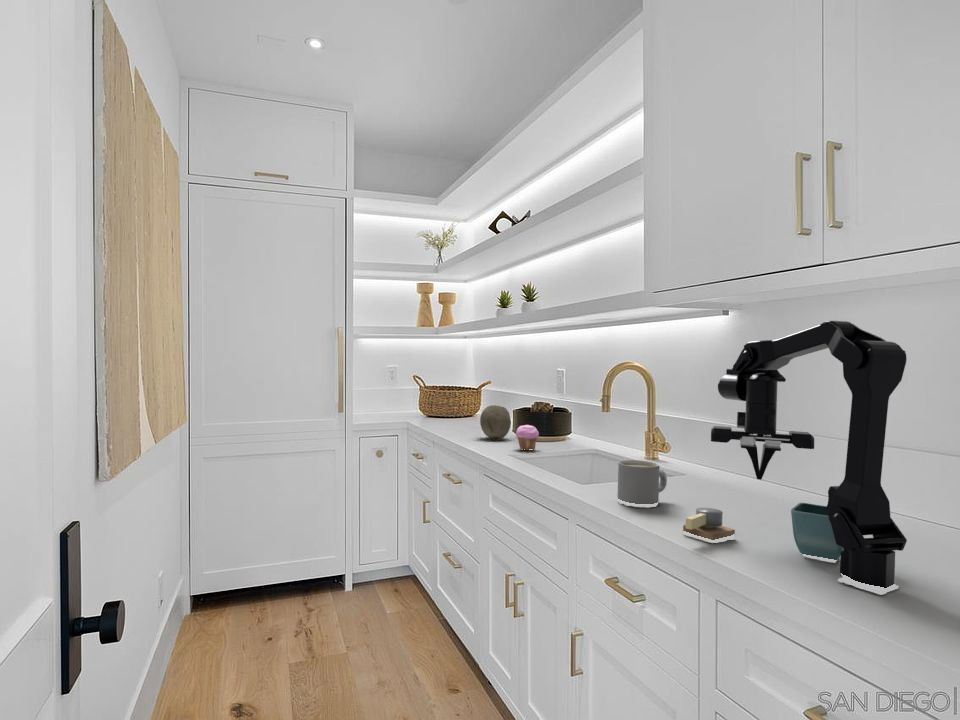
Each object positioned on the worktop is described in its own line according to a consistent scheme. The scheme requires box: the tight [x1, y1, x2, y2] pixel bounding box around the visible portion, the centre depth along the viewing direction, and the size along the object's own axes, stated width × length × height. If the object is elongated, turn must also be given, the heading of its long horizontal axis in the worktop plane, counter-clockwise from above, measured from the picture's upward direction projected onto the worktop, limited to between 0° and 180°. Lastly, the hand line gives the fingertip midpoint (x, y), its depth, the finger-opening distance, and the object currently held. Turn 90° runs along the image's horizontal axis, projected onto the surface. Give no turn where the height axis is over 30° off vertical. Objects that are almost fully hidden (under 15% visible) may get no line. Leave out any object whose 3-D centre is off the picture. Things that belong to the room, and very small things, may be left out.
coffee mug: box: [616, 459, 668, 504], centre depth 144 cm, size 13×10×10 cm
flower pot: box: [790, 502, 844, 561], centre depth 106 cm, size 9×9×9 cm
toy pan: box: [685, 507, 723, 530], centre depth 115 cm, size 11×5×2 cm, turn 132°
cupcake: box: [515, 424, 540, 451], centre depth 224 cm, size 9×9×10 cm
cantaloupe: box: [479, 405, 512, 441], centre depth 252 cm, size 14×14×15 cm
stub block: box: [682, 524, 736, 540], centre depth 117 cm, size 7×7×3 cm
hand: (759, 479), depth 117 cm, fingers closed
